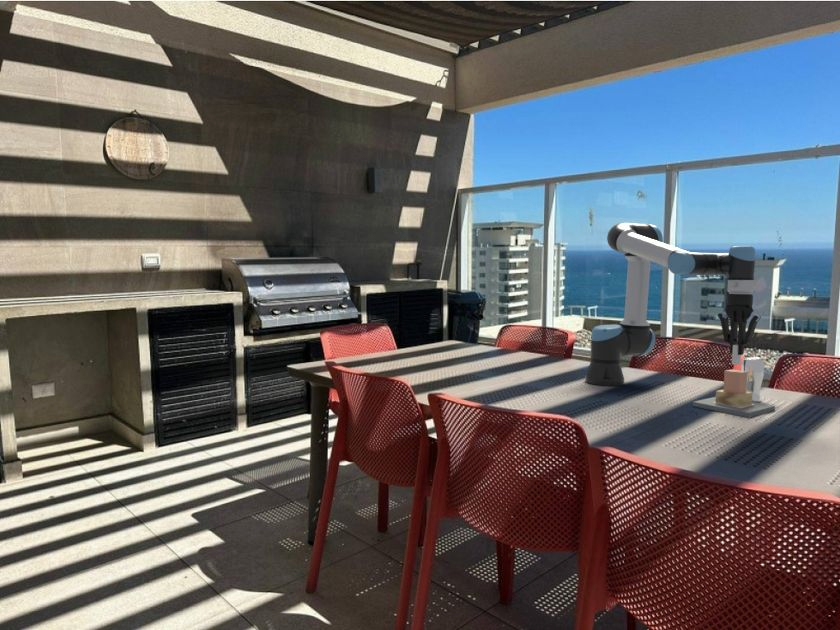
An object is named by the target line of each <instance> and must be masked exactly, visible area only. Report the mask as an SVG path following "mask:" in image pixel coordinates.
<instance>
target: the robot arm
mask: <svg viewBox="0 0 840 630" xmlns="http://www.w3.org/2000/svg"><path fill="white" fill-rule="evenodd" d="M663 238H664V237H663V233H662V231H661V230H660V229H659V227H658V226H656V225H654V224H650V223H645V222H644V223H639V222H636V223H634V222H620V223H617V224H615V225H613V226H612V227H611V228H610V230H608V232H607V237H606V241H607V245H608V246H609V247H610V249H612V250H613V251H616V252H619V253H621V254H623V255H624V257H625V259H626V260H627V272H626V274H627V275H626V289H625V300H624V301H625V303H624V317H623V319H622V320H621V321H620V322H619V324H614V323H613V324H600V325H596V326H594V327H593V328H592V330H591V337H590V340H591V341H590V361H589V362H590V363H589V366H588V368H587V371H586V374H585V378H584V380H585V383H588V384H590V385H591V384H592V385H596V386H604V387H605V386H607V387H615V386H616V387H618V386H623V385H625V377H624V374H623V373H624V372H623V370H622V365H621V363H622V362H621V360H622V359H621V357H640V356H646V355H648V354H649V353H651V352H652V350H654V347H655V344H656V336H655V335H656V334H654V330H652V329H651V328H650V327H651V324H650V323H649V321H648V320H647V315H648V303H649V302H648V300H649V289H650V276H651V275H650V273H651V262H652V263H654V264H657V265H660V266H662V267H665V268H667V269H668V270H669V271H670V273H672V274H674V275H680V276H688V275H689V276H690V275H693V276H695V275H696V276H697V275H698V276H727V286H726V287H727V294H726V307H725V309H724V311H722V312H718V313H717V316H718V319H719V320H720V325H721V331H722V335H723V341H724V342H725V343H727V344H729V354H731V365H733V366H738V365H739V366H740V365H741V364H742V362H741V359H742V357H741V356H743V355H744V353H745V345H748V344H751V343H752V341H753V340H752V339H753V337H754V333H755V331H756V328H757V324H758V322H759V321H760V320H761V319H762V316H761V315H759V314H756V313H755V312H754V311H755V310H754V308H753V304H754V303H753V301H754V295H753V292H754V287H755V286H754V283H755V279H754V276H755V268H756V260H757V259H756V248H755V247H754V246H752V245H735V246H731V247H729V251H728V252H718V253H717V252H713V253H712V252H693V251H688V250H685V249H682V248H680V247H678V246H677V247H676V246H673V245H671V244H668V243H664V242H663V241H664V239H663ZM728 318H729V320H728ZM749 319H750V320H749ZM748 320H749V322H748ZM729 323H730V325H729ZM747 324H748V327H747Z"/></svg>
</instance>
